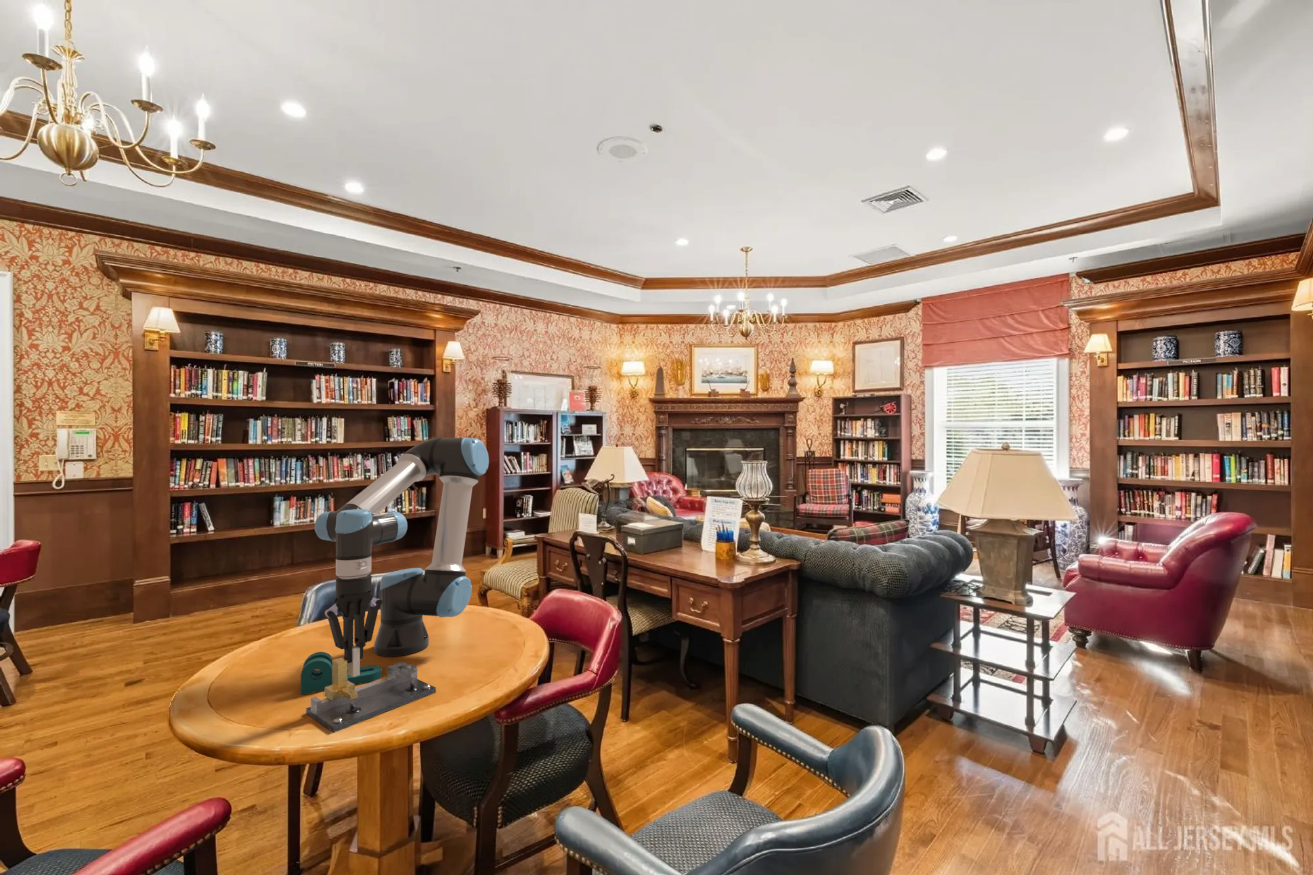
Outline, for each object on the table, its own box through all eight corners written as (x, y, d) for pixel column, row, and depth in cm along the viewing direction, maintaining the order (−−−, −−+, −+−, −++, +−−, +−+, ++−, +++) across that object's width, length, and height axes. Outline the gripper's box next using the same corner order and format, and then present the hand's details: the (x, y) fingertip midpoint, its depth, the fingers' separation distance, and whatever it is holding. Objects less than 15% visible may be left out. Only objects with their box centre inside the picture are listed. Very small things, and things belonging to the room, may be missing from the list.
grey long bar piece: (309, 710, 129) (309, 692, 129) (409, 675, 148) (409, 659, 148) (327, 722, 124) (327, 703, 124) (429, 684, 143) (429, 667, 143)
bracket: (300, 695, 140) (300, 663, 140) (303, 684, 146) (303, 654, 146) (381, 680, 148) (381, 650, 149) (381, 671, 155) (380, 642, 155)
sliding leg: (324, 703, 132) (324, 661, 132) (346, 695, 136) (346, 654, 136) (342, 715, 126) (342, 671, 126) (365, 706, 130) (365, 663, 130)
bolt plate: (306, 713, 131) (306, 705, 131) (405, 678, 150) (405, 671, 150) (333, 732, 122) (333, 723, 122) (435, 692, 141) (435, 685, 141)
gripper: (332, 583, 128) (332, 688, 128) (388, 572, 138) (388, 669, 138) (317, 578, 132) (317, 679, 132) (373, 568, 143) (373, 662, 143)
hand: (353, 674), depth 135 cm, fingers closed
